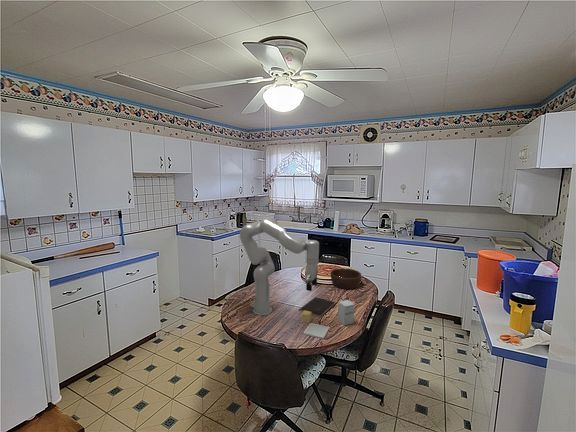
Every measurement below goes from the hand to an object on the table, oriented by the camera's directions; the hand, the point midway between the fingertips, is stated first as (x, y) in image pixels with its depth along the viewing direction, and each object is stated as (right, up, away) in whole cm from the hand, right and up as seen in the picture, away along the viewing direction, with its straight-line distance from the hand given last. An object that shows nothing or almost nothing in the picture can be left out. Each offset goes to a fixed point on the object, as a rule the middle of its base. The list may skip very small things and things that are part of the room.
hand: (311, 287), depth 176 cm
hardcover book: (+6, -20, +22) cm, 30 cm away
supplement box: (+21, -22, +3) cm, 31 cm away
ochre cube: (-3, -22, +5) cm, 22 cm away
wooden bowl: (+33, -14, +63) cm, 72 cm away
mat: (+2, -24, -8) cm, 25 cm away
